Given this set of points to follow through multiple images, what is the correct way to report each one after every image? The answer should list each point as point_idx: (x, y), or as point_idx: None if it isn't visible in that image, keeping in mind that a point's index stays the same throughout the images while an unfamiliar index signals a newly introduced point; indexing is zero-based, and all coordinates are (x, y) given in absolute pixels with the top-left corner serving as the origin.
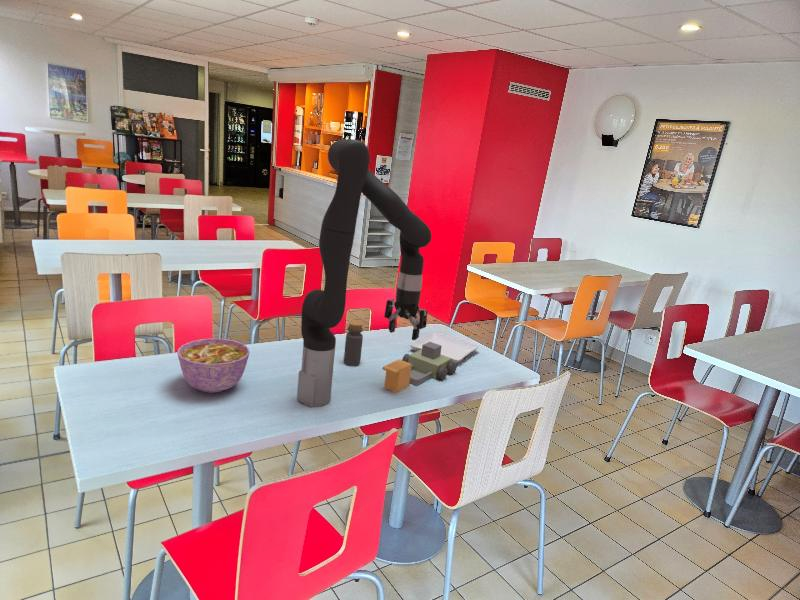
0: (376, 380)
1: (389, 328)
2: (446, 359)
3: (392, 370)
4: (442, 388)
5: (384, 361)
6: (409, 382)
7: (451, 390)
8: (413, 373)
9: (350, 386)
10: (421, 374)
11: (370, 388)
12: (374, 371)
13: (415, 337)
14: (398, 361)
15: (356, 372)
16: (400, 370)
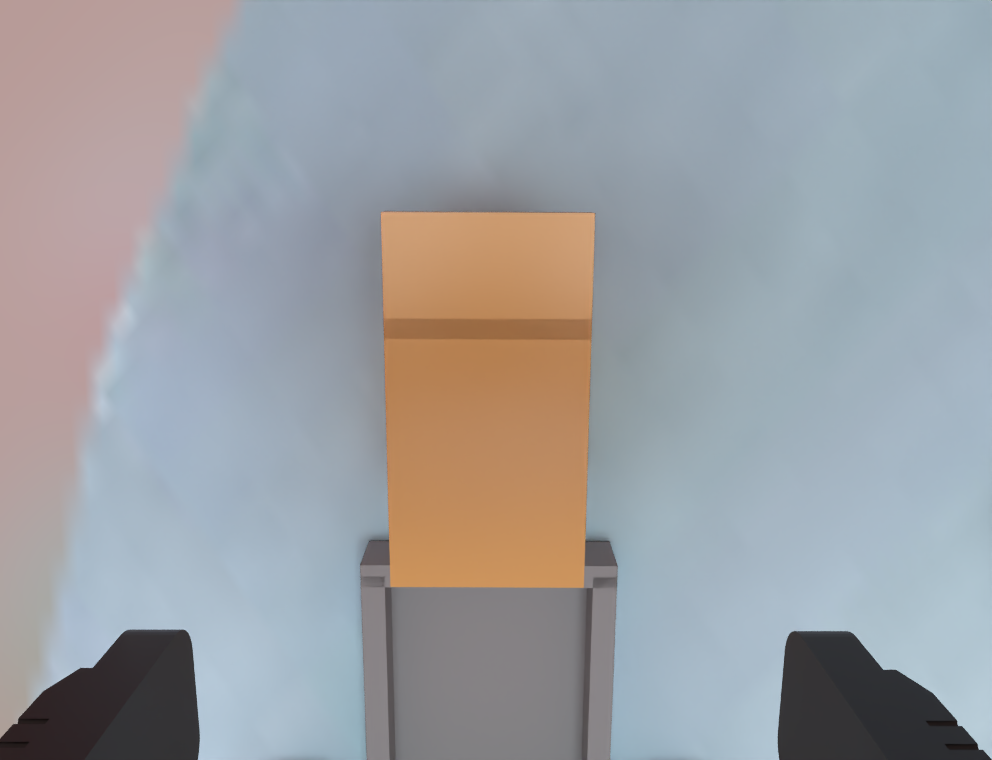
0: (707, 356)
1: (904, 695)
2: None
3: (435, 220)
4: None
5: None
6: None
7: None
8: (529, 719)
9: (822, 43)
10: (465, 754)
11: (649, 163)
12: (833, 506)
13: (68, 690)
14: (549, 524)
15: (955, 356)
16: (386, 333)
